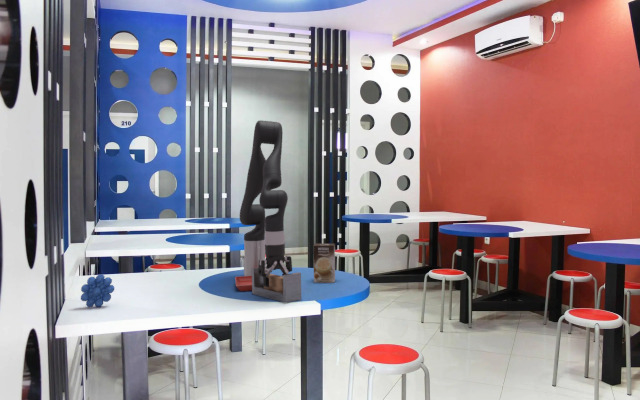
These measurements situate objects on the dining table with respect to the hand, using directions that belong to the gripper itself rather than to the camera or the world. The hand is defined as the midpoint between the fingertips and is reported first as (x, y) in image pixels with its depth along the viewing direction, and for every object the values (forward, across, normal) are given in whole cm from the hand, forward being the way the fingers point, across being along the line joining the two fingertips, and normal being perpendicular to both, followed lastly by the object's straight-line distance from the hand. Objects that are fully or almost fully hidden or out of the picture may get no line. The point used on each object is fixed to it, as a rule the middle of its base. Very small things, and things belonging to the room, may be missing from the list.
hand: (275, 285), depth 204 cm
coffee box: (+5, -32, -8) cm, 33 cm away
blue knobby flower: (+5, +54, -35) cm, 65 cm away
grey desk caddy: (+4, 0, 0) cm, 4 cm away
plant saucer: (+5, -6, -21) cm, 22 cm away
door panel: (+4, 0, 0) cm, 5 cm away
